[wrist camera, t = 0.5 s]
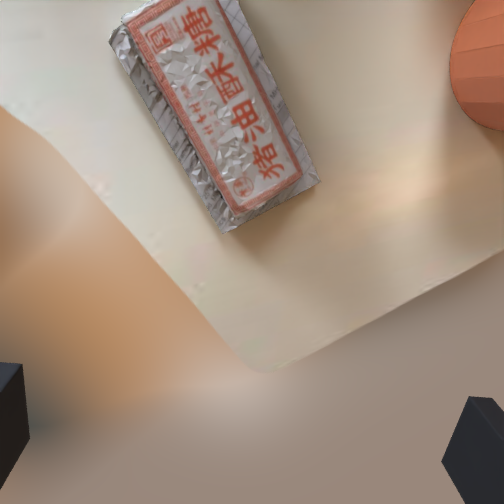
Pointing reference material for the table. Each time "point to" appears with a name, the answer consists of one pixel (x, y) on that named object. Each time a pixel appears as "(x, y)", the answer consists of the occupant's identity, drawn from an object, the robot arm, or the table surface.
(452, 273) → the table surface
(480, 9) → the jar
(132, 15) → the packaged product
